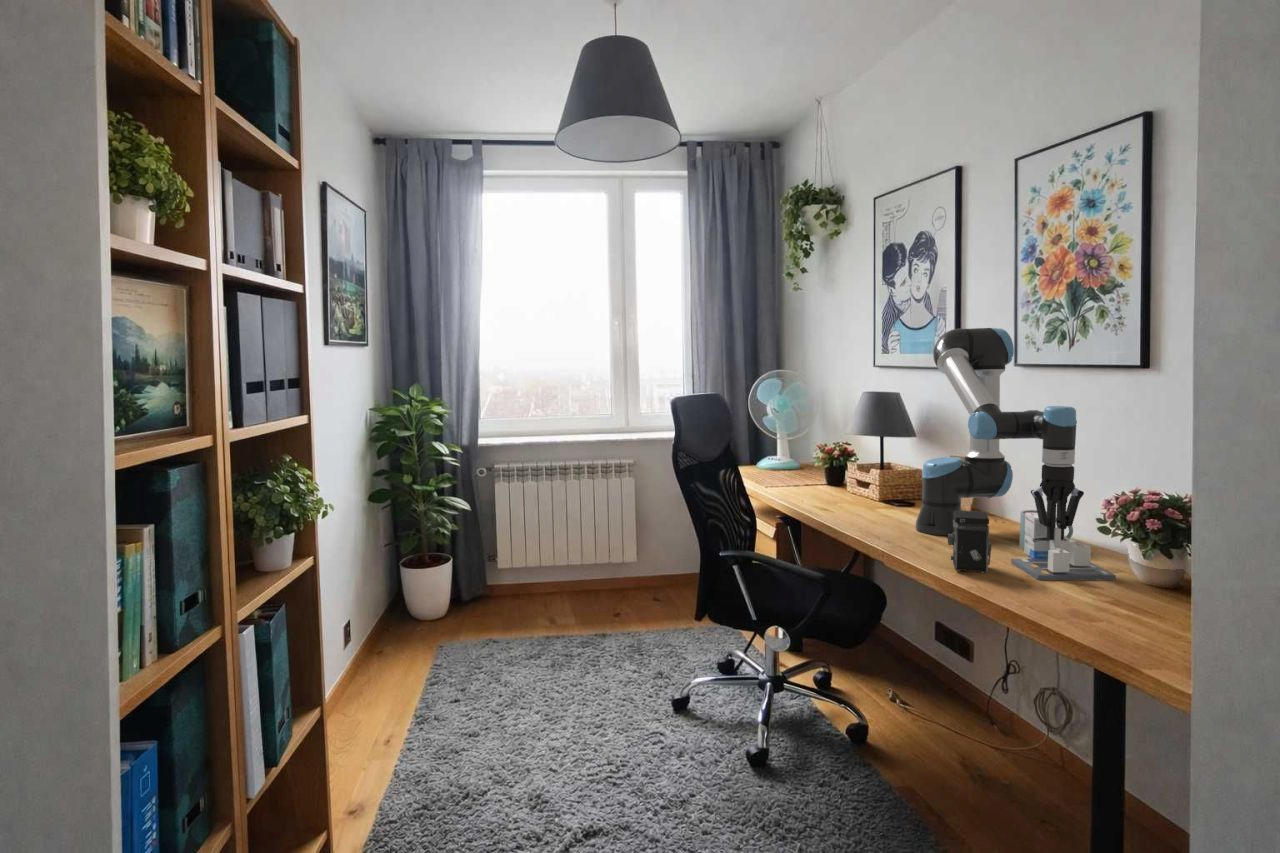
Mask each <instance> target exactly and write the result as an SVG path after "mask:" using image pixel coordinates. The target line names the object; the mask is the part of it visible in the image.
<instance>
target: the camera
mask: <svg viewBox="0 0 1280 853" xmlns="http://www.w3.org/2000/svg"><path fill="white" fill-rule="evenodd" d="M953 516H954V520H953V527H954V532H953V533H952V534H948V535H947V545H948V546H952V547H953V548H952V555H950V561H952V564H953V568H954V570H956V571H957V572H958V571H959V572H960V571H969V572H971V571H972V572H981V574H984V573H987V572H988V570H989V569H988V568H989V566H990V565H991V564H990V563H991V555H992V553H991V552H992V544H991V543H990V527H989V524H990V519H989V517H988V515H987V512H986V511H978V510H977V511H976V510H975V511H974V510H962V511H957V510H956V511H954V512H953Z"/></svg>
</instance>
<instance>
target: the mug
mask: <svg viewBox="0 0 1280 853" xmlns="http://www.w3.org/2000/svg"><path fill="white" fill-rule="evenodd" d="M1025 513H1037V509H1027V510H1021V511H1020V512H1019V514H1020V516H1019V517H1020V520H1019V521H1020V522H1019V545H1020V546H1019V547H1020V548H1023V549H1024V547H1025ZM1046 514H1047V510H1046ZM1055 527H1057V525H1055ZM1067 528H1068V533H1067V535H1066V536H1065V537H1066V538H1068V539H1072V536H1073V534H1074V526H1073V525H1072V526H1067Z"/></svg>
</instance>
